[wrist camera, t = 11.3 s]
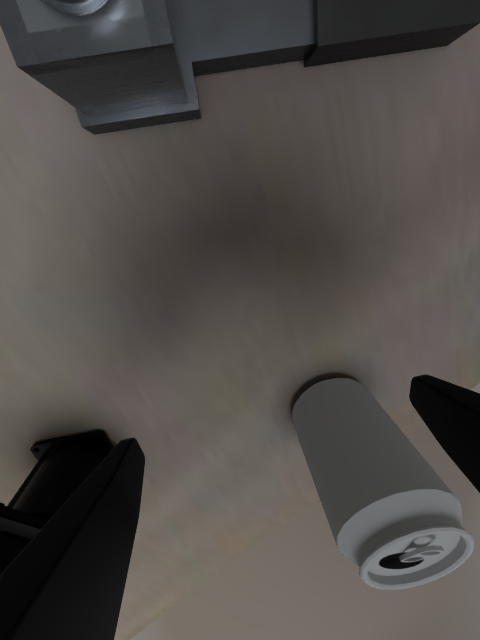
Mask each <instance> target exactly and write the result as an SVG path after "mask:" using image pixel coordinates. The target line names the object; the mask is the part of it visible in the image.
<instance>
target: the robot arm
mask: <svg viewBox="0 0 480 640" xmlns="http://www.w3.org/2000/svg"><path fill="white" fill-rule="evenodd" d="M409 397H410V401H411V403H412V405H413V406H414V408H415V409H416V411H417V412H418V414H419V415H420V417H421V418H422V419H423V421H424V422H425V424H426V425H427V426H428V428H429V429H430V431H431V432H432V434H433V435H434V437H435V438H436V440H437V441H438V442H439V443H440V445H441V446H442V448H443V449H444V450H445V451H446V453H447V454H448V455H449V457H450V458H451V459H452V460H453V461H454V462H455V464H456V465H457V466H458V467H459V469H460V470H461V471H462V472H463V473H464V475H465V476H466V477H467V478H468V479H469V481H470V482H471V483H472V484H473V485H474V486H475V488H476V489H477V490H478V491H479V493H480V394H479V393H477V392H474V391H471V390H468V389H466V388H463V387H460V386H457V385H455V384H452V383H449V382H446V381H444V380H441V379H438V378H435V377H433V376H430V375H421V376H416V377H413V379H412V381H411V388H410V395H409ZM30 450H31V451H32V453H33V454H34V455H35V457H36V458H37V459H38V462H37V464H36V465H35V467H34V468H33V470H32V471H31V473H30V474H29V475H28V477H27V478H26V480H25V481H24V483H23V484H22V486H21V487H20V488H19V490H18V491H17V493H16V494H15V496H14V497H13V499H12V500H11V501H10V503H9V504H8V506H4V505H5V504H3V503H0V640H114V637H115V632H116V627H117V622H118V617H119V612H120V608H121V603H122V598H123V593H124V588H125V583H126V578H127V573H128V568H129V563H130V558H131V554H132V549H133V544H134V539H135V534H136V529H137V524H138V518H139V512H140V503H141V494H142V485H143V475H144V466H145V456H144V453H143V451H142V449H141V448H140V446H139V444H138V442H137V440H136V439H135V438H129V439H124V440H121V441H120V442H119V443H118V444H117V445H116V446H115V447H114V448H113V447H112V445H111V443H110V441H109V439H108V437H107V436H106V434H105V433H104V432H103V431H93V432H88V433H83V434H77V435H72V436H67V437H61V438H56V439H51V440H46V441H40V442H36V443H34V444H33V446H32V447H31V449H30Z"/></svg>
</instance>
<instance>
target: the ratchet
mask: <svg viewBox="0 0 480 640" xmlns="http://www.w3.org/2000/svg"><path fill="white" fill-rule="evenodd" d="M169 2H170V8H171V13H172V18H173V24H174V29H175V34H176V40H177V45H178V51H179V56H180V61H181V67H182V72H183V77H184V83H185V88H186V93H187V99H188V102H182V103H175V104H169V105H162V106H156V107H150V108H143V109H137V110H131V111H124V112H118V113H111V114H105V115H99V116H92V117H88V116H87V115H85V114H84V113H83V112H81V111H80V110H78V109H77V108H76V111H77V114H78V117H79V120H80V123H81V126H82V127H83V128H84V129H86V130H88V131H90V132H91V133H93V134H101V133H108V132H114V131H121V130H127V129H134V128H140V127H147V126H153V125H160V124H166V123H173V122H179V121H186V120H192V119H199V118H201V115H200V109H199V103H198V97H197V92H196V86H195V80H194V76H200V75H206V74H213V73H220V72H226V71H233V70H240V69H246V68H253V67H260V66H266V65H273V64H280V63H286V62H293V61H300V60H304V67H309V66H316V65H323V64H329V63H336V62H342V61H349V60H356V59H362V58H369V57H376V56H382V55H389V54H396V53H402V52H409V51H416V50H422V49H429V48H436V47H442V46H447V45H449V44H450V43H452V42H453V41H455V40H456V39H457V38H459V37H460V36H462V35H463V34H465V33H466V32H468V31H469V30H471V29H472V28H473V27H475V26H476V25H478V24H479V23H480V0H169Z"/></svg>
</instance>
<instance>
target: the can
mask: <svg viewBox="0 0 480 640" xmlns="http://www.w3.org/2000/svg"><path fill="white" fill-rule="evenodd" d="M292 421H293V425H294V428H295V431H296V433H297V436H298V439H299V442H300V445H301V447H302V450H303V453H304V456H305V458H306V461H307V464H308V467H309V470H310V472H311V475H312V478H313V481H314V484H315V486H316V489H317V492H318V495H319V497H320V500H321V503H322V506H323V509H324V511H325V514H326V517H327V519H328V522H329V525H330V528H331V531H332V534H333V536H334V539H335V542H336V545H337V547H338V549H339V550H340V551H341V552H342V554H343V555H344V556H345V557H347V558H348V559H349V560H351V561H352V562H353V563H355V564H356V565H357V566H359V567H360V569H359V575H360V577H361V578H362V580H363V581H364V582H365V583H366V584H367V585H370V586H372V587H374V588H377V589H386V590H393V589H405V588H409V587H414V586H419V585H422V584H425V583H428V582H431V581H434V580H436V579H438V578H440V577H442V576H444V575H446V574H448V573H450V572H451V571H453V570H455V569H456V568H458V567H459V566H460V565H462V564H463V563H464V562H465V561H466V560H467V559H468V558H469V557H470V555H471V553H472V551H473V549H474V540H473V536H472V535H471V534H470V533H469V532H468V531H467V530H465V529H464V528H462V509H461V505H460V501H459V500H458V498H457V497H456V496H455V495H454V494H453V492H452V491H451V490H450V489H449V488H448V486H447V485H446V484H445V483H444V481H443V480H442V479H441V478H440V477H439V475H438V474H437V473H436V472H435V471H434V469H433V468H432V467H431V466H430V465H429V463H428V462H427V461H426V460H425V459H424V457H423V456H422V455H421V454H420V453H419V451H418V450H417V449H416V448H415V447H414V445H413V444H412V443H411V442H410V441H409V439H408V438H407V437H406V436H405V435H404V433H403V432H402V431H401V430H400V428H399V427H398V426H397V425H396V424H395V422H394V421H393V420H392V419H391V418H390V416H389V415H388V414H387V413H386V412H385V410H384V409H383V408H382V407H381V406H380V404H379V403H378V402H377V401H376V400H375V398H374V397H373V396H372V395H371V394H370V392H369V391H368V390H367V389H366V388H365V387H364V386H363V385H362V384H361V383H360V382H357V381H354V380H352V379H348V378H334V379H328V380H323V381H320V382H318V383H316V384H314V385H312V386H311V387H309V388H308V389H307V390H306V391H305V392H304V393H303V394H301V396H300V397H299V398H298V400H297V401H296V403H295V404H294V408H293V411H292Z"/></svg>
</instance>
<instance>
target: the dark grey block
mask: <svg viewBox="0 0 480 640" xmlns="http://www.w3.org/2000/svg"><path fill="white" fill-rule="evenodd" d="M0 25H1V27H2V30H3V32H4V35H5V37H6V40H7V42H8V45H9V47H10V50H11V52H12V55H13V57H14V60H15V62H16V65H17V67H18V68H20V69H21V70H23V71H24V72H25V73H27V74H28V75H30V76H31V77H33V78H34V79H35V80H37V81H38V82H40V83H41V84H43V85H44V86H45V87H47V88H48V89H50V90H51V91H53V92H54V93H55V94H57V95H58V96H60V97H61V98H63V99H64V100H65V101H67V102H68V103H70V104H71V105H73V106H74V107H75V108H77V109H78V110H80V111H81V112H83V113H84V114H85V115H87V116H88V117H92V116H99V115H105V114H111V113H118V112H124V111H131V110H137V109H143V108H150V107H156V106H162V105H169V104H175V103H182V102H188V99H187V93H186V88H185V83H184V77H183V72H182V67H181V61H180V56H179V51H178V45H177V40H176V34H175V29H174V24H173V18H172V13H171V8H170V2H169V0H0Z"/></svg>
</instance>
